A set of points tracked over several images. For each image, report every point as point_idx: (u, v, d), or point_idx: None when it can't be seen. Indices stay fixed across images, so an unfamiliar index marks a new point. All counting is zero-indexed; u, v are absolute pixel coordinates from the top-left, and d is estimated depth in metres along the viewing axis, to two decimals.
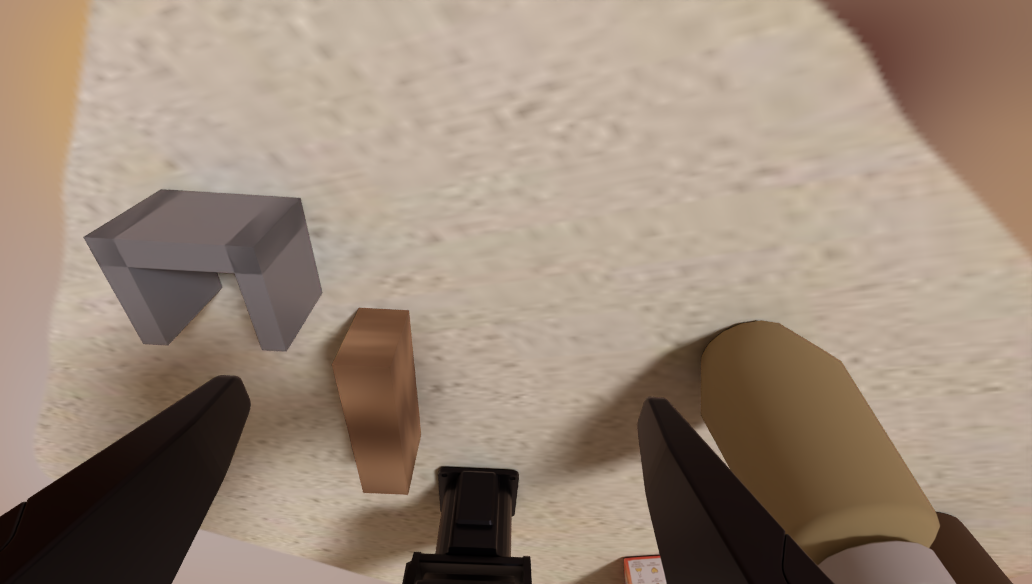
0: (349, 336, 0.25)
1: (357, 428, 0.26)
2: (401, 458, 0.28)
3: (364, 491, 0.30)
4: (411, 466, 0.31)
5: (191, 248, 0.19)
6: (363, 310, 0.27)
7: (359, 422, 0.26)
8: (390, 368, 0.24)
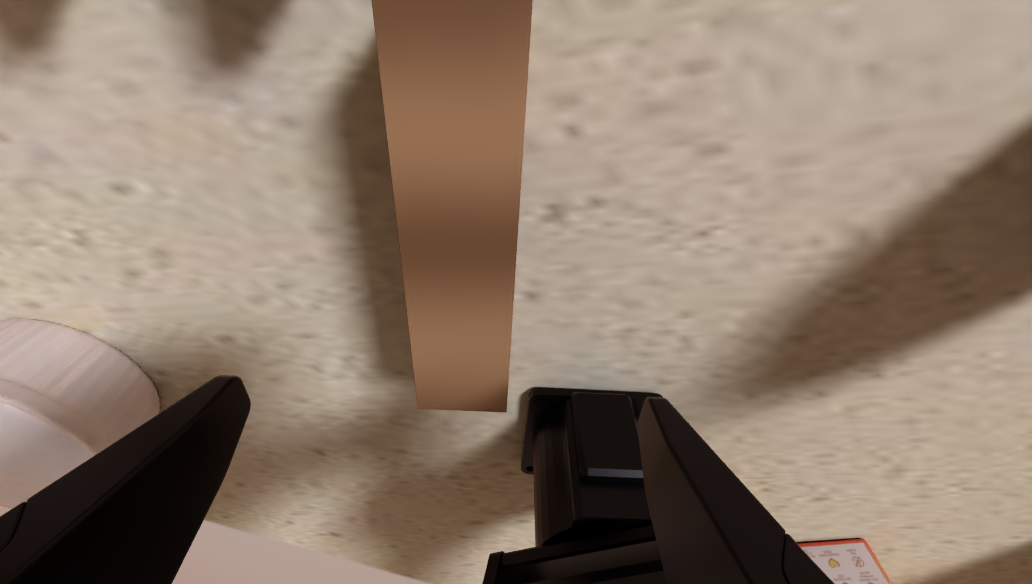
0: None
1: (421, 230, 0.11)
2: (508, 318, 0.13)
3: (420, 405, 0.15)
4: None
5: None
6: None
7: (428, 210, 0.11)
8: None
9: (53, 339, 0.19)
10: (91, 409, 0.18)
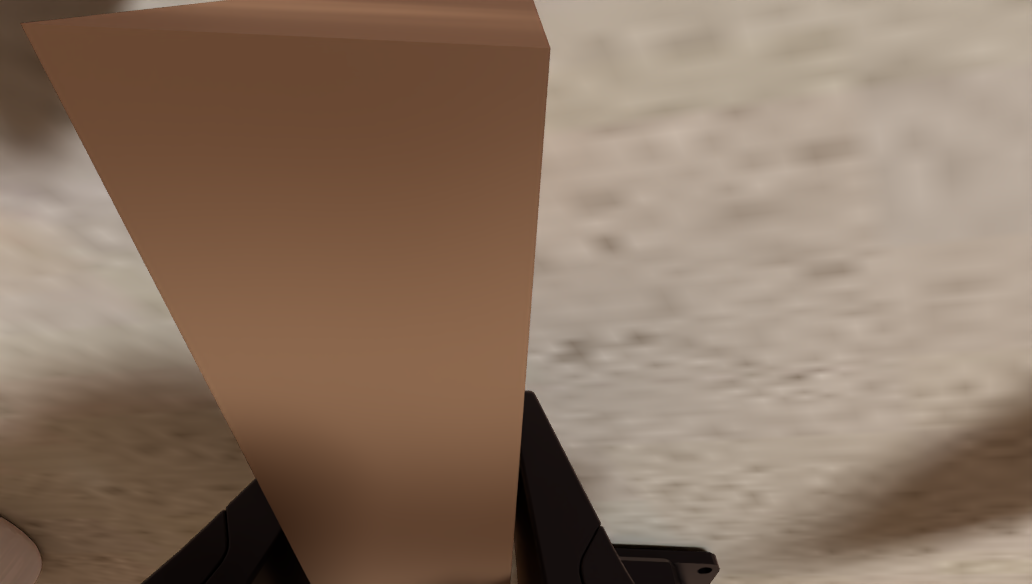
0: (251, 1, 0.04)
1: (319, 510, 0.06)
2: None
3: None
4: None
5: None
6: None
7: (328, 485, 0.05)
8: (544, 75, 0.03)
9: None
10: None
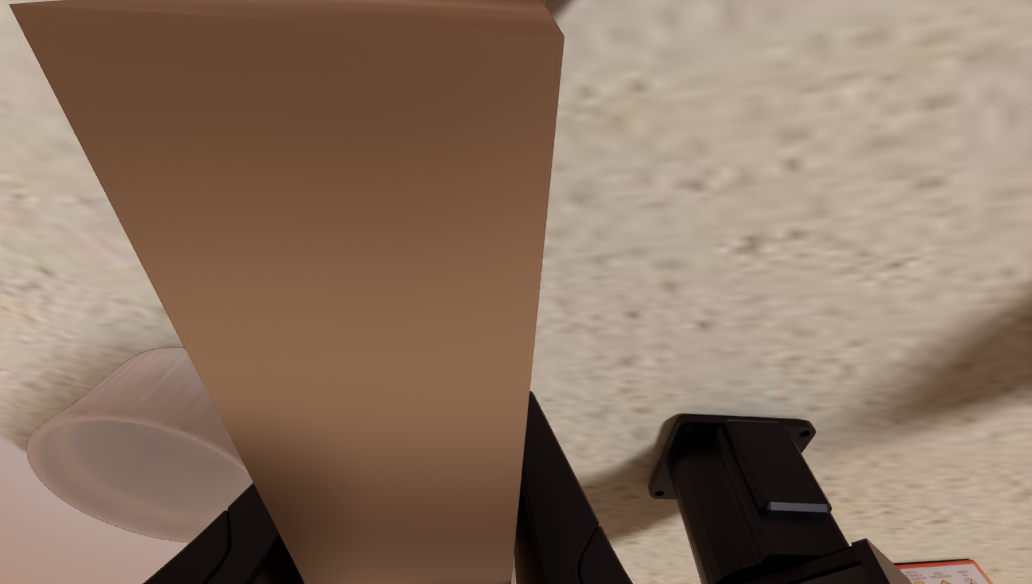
0: None
1: (316, 513, 0.05)
2: None
3: None
4: None
5: None
6: None
7: (326, 487, 0.05)
8: (557, 65, 0.03)
9: None
10: None
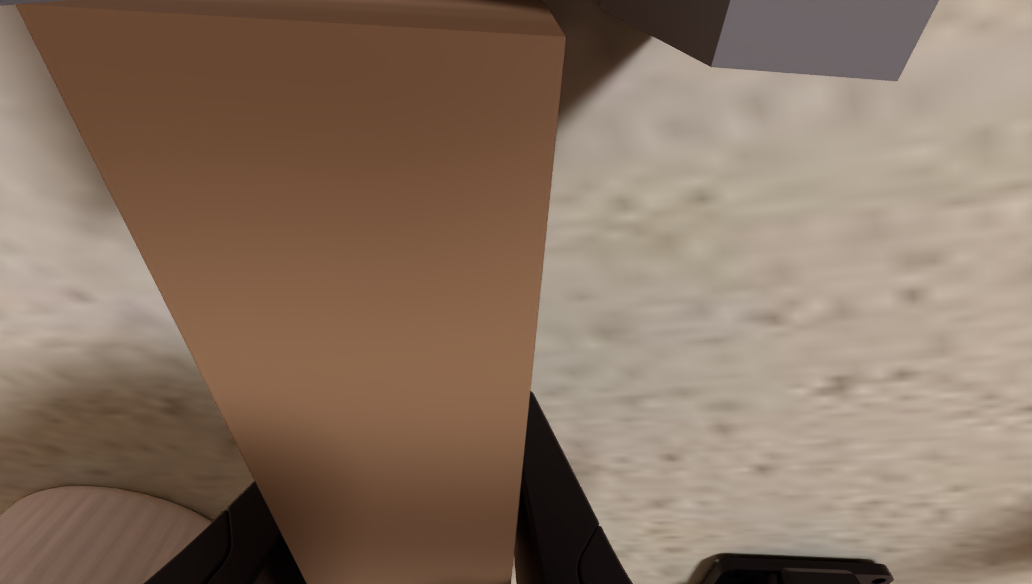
0: None
1: (317, 511, 0.05)
2: None
3: None
4: None
5: None
6: None
7: (326, 485, 0.05)
8: (558, 65, 0.03)
9: (126, 520, 0.14)
10: None
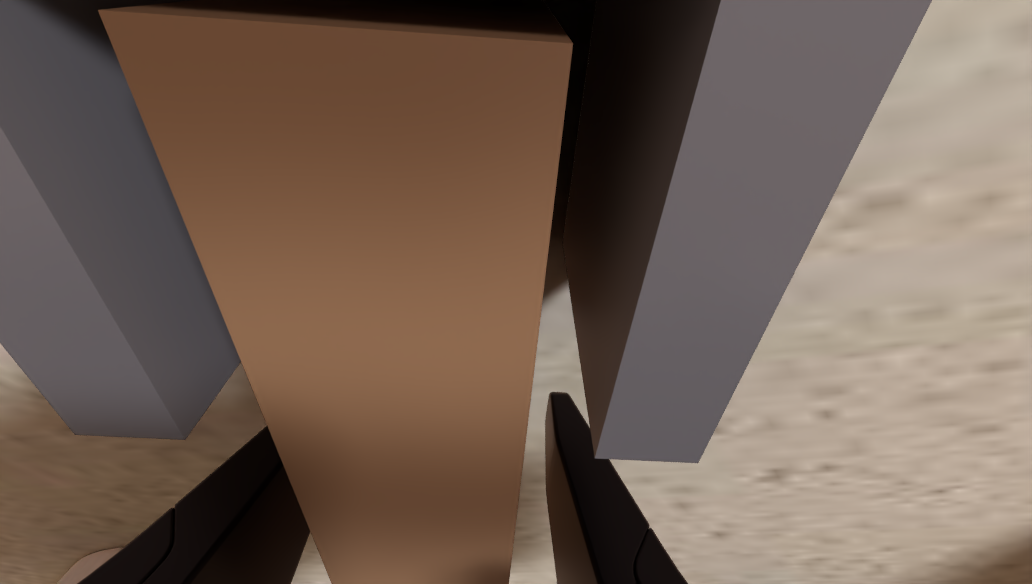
0: None
1: (334, 480, 0.06)
2: (502, 578, 0.08)
3: None
4: None
5: None
6: None
7: (344, 454, 0.06)
8: (565, 67, 0.03)
9: None
10: None
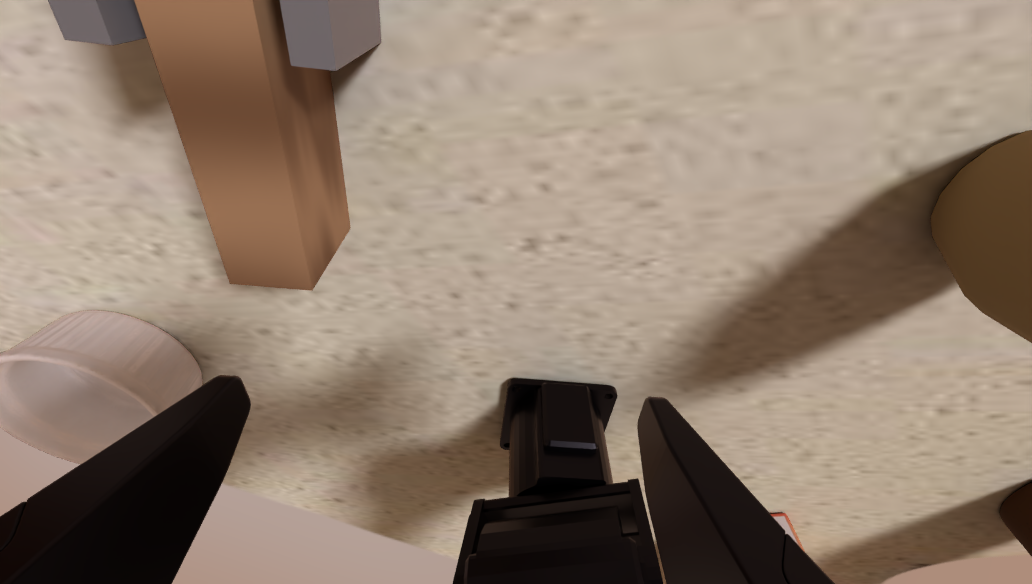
0: None
1: (185, 90, 0.13)
2: (287, 187, 0.15)
3: (231, 280, 0.17)
4: (322, 248, 0.18)
5: None
6: None
7: (186, 69, 0.12)
8: None
9: (127, 327, 0.23)
10: (157, 384, 0.23)
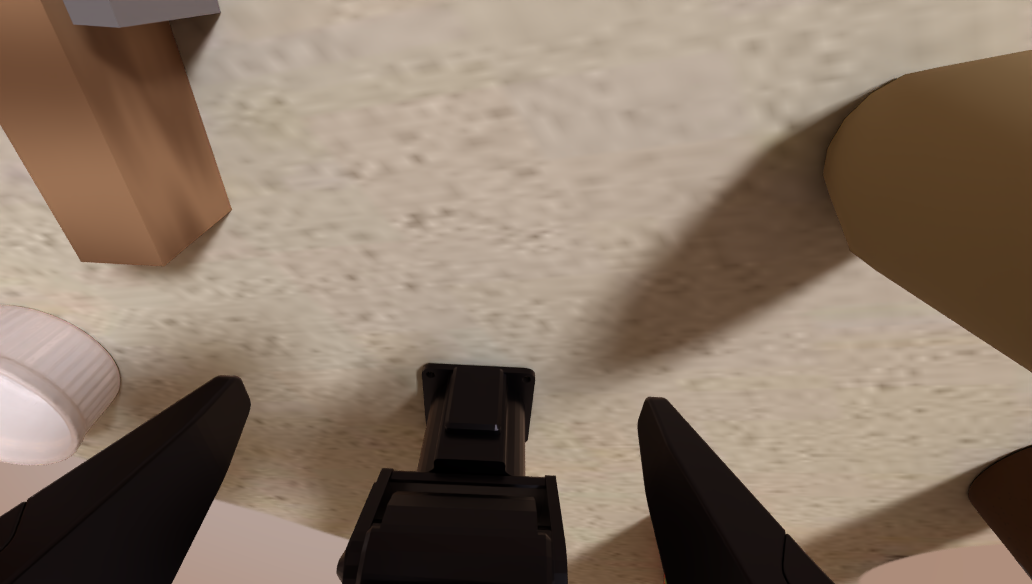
0: None
1: None
2: (109, 156, 0.14)
3: (82, 258, 0.17)
4: (179, 224, 0.17)
5: None
6: None
7: None
8: None
9: (29, 321, 0.23)
10: (58, 376, 0.23)
